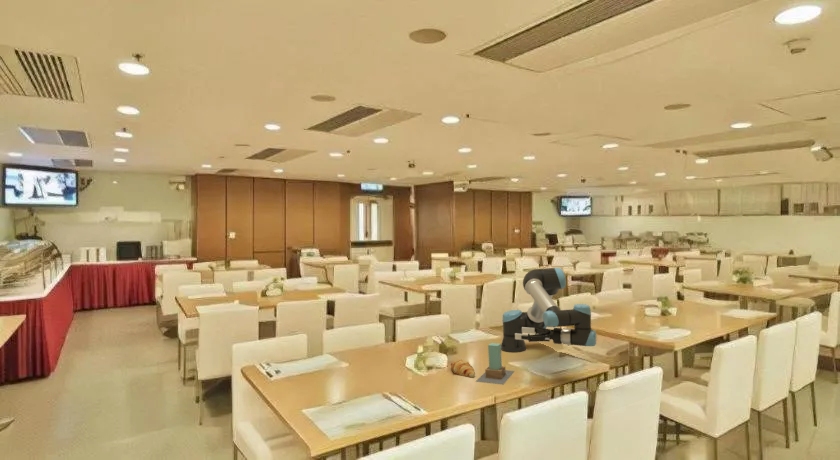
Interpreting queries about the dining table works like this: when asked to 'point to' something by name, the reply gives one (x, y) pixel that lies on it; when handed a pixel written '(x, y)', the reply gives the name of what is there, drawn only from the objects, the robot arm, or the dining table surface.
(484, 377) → the placemat
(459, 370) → the croissant
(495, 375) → the plinth
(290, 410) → the dining table surface
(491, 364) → the pillar
